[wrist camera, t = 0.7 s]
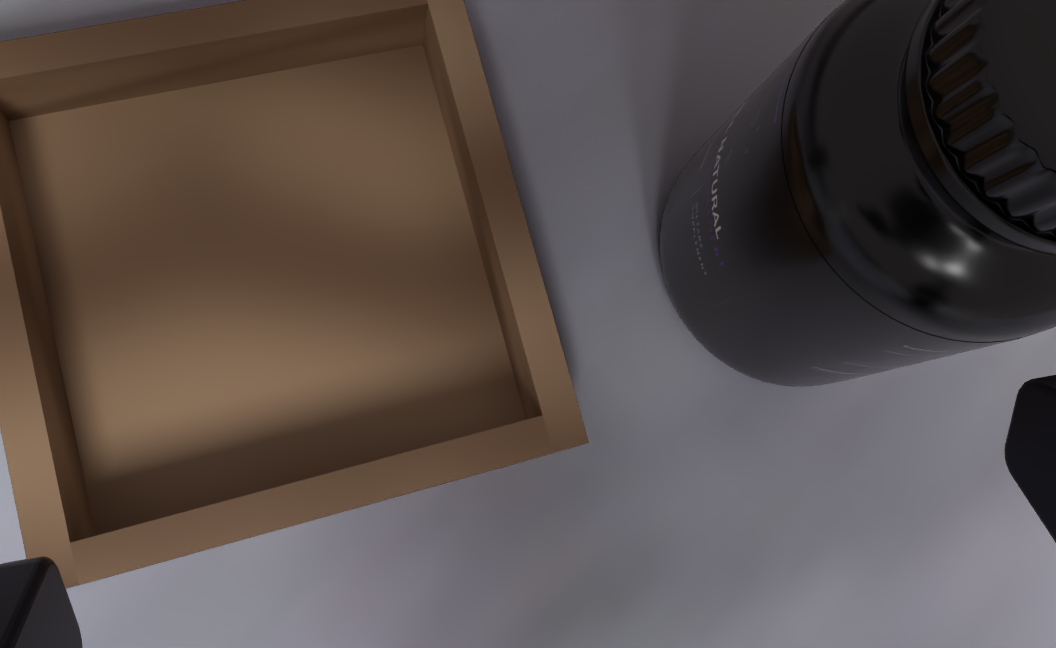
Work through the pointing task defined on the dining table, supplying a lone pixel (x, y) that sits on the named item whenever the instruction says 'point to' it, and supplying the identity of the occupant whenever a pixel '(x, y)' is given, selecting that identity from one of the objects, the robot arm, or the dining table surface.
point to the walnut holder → (259, 277)
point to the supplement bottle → (877, 196)
